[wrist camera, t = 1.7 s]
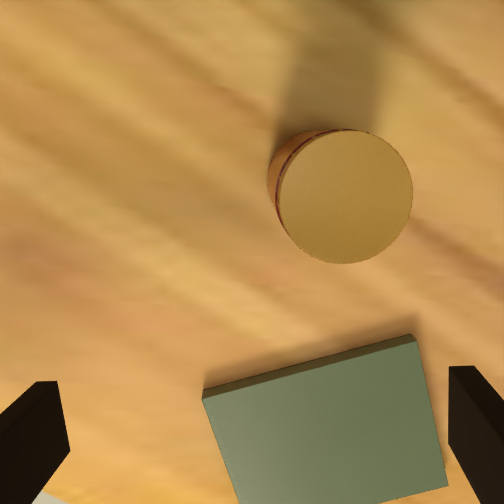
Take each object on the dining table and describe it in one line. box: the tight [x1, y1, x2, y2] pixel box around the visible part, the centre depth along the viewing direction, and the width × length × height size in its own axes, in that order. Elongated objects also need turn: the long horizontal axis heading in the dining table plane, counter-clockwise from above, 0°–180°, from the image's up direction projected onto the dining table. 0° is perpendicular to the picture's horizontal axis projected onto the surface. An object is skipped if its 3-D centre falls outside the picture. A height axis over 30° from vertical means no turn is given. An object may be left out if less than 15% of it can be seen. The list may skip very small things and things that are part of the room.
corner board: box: [202, 334, 448, 504], centre depth 43 cm, size 20×16×2 cm
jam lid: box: [276, 129, 413, 264], centre depth 27 cm, size 8×8×2 cm
